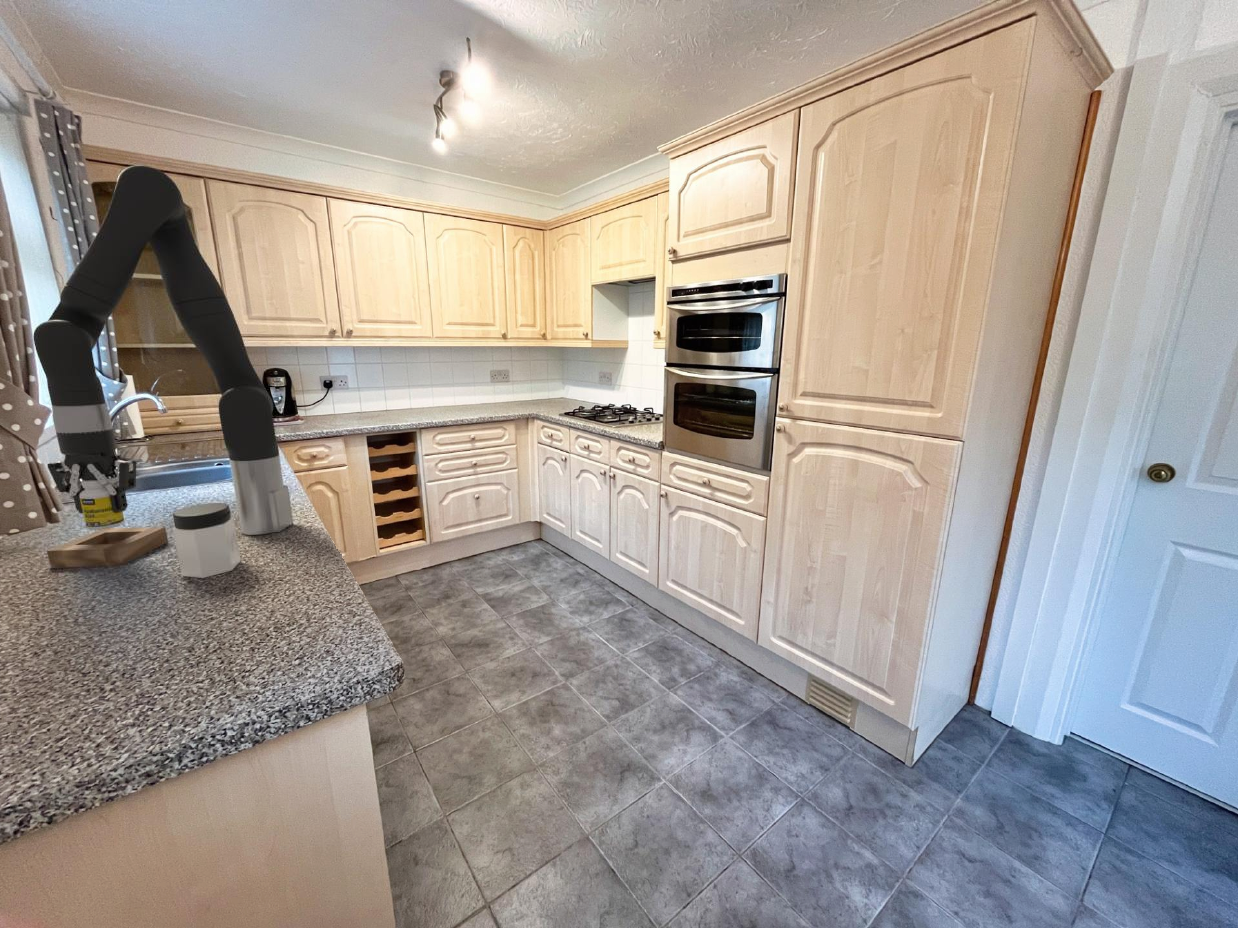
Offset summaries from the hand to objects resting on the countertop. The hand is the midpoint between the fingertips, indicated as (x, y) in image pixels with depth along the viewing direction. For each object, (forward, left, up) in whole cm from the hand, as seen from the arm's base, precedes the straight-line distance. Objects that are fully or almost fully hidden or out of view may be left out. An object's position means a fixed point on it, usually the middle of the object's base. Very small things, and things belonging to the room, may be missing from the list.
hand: (103, 511), depth 99 cm
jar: (-24, +9, -9) cm, 27 cm away
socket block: (0, 0, -9) cm, 9 cm away
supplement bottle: (0, 0, -3) cm, 3 cm away
